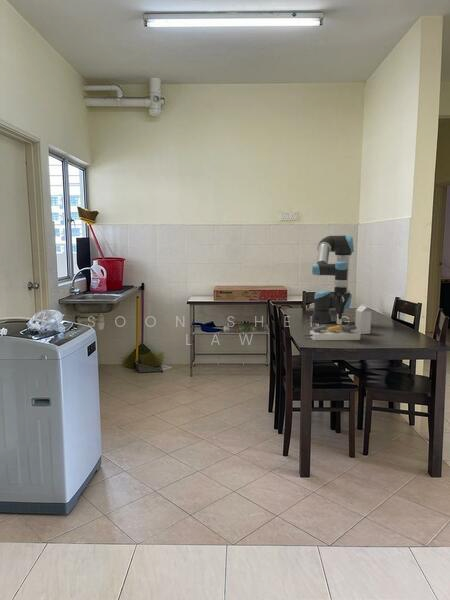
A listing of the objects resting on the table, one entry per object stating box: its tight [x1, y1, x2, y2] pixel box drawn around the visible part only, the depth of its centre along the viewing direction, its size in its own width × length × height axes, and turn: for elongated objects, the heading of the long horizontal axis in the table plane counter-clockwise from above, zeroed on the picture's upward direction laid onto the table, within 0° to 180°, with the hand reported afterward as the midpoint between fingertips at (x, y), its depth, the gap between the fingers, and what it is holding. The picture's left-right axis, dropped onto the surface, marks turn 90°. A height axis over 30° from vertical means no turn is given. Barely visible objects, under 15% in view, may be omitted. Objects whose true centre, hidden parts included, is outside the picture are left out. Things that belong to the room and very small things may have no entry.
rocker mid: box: [326, 324, 342, 332], centre depth 273 cm, size 5×8×2 cm, turn 94°
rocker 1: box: [311, 324, 328, 332], centre depth 273 cm, size 5×8×2 cm, turn 94°
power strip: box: [303, 329, 361, 341], centre depth 272 cm, size 10×34×5 cm, turn 94°
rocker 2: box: [341, 324, 357, 332], centre depth 274 cm, size 5×8×2 cm, turn 94°
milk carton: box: [354, 303, 372, 335], centre depth 287 cm, size 7×7×19 cm
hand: (339, 323), depth 273 cm, fingers closed
